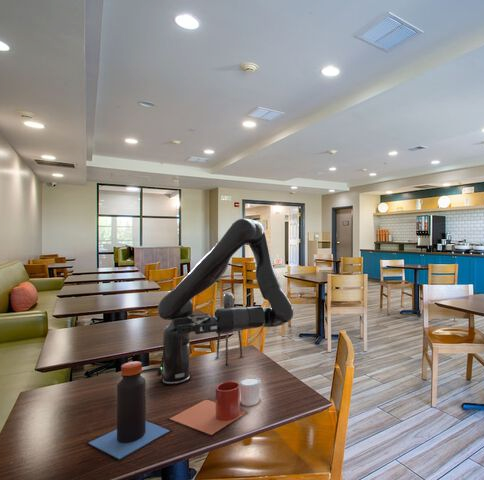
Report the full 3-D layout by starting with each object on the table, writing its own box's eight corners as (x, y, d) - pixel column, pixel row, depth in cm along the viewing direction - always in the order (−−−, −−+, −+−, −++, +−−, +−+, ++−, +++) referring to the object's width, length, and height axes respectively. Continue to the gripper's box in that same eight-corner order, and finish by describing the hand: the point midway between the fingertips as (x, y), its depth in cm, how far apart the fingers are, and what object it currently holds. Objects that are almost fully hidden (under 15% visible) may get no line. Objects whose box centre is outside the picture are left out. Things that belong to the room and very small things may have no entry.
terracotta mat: (168, 419, 105) (168, 418, 105) (206, 400, 117) (206, 399, 117) (211, 435, 97) (211, 434, 97) (246, 413, 109) (246, 412, 109)
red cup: (210, 417, 106) (210, 388, 106) (227, 407, 112) (228, 379, 112) (227, 423, 103) (227, 393, 102) (244, 412, 109) (244, 384, 109)
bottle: (150, 433, 97) (151, 362, 96) (125, 446, 91) (125, 371, 90) (136, 427, 100) (136, 358, 100) (111, 439, 94) (111, 366, 94)
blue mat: (88, 443, 92) (88, 442, 92) (139, 419, 105) (139, 418, 105) (119, 459, 86) (119, 458, 86) (170, 431, 98) (170, 430, 98)
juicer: (242, 356, 159) (242, 291, 158) (226, 365, 148) (227, 295, 148) (224, 354, 162) (225, 290, 162) (208, 362, 152) (208, 294, 151)
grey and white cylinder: (254, 408, 112) (255, 386, 112) (235, 405, 114) (235, 384, 113) (263, 398, 119) (264, 378, 119) (245, 396, 120) (245, 376, 120)
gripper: (226, 303, 116) (172, 308, 107) (238, 312, 104) (178, 318, 95) (225, 326, 116) (172, 332, 107) (237, 337, 104) (178, 345, 95)
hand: (175, 326), depth 101 cm, fingers open, 8 cm apart
